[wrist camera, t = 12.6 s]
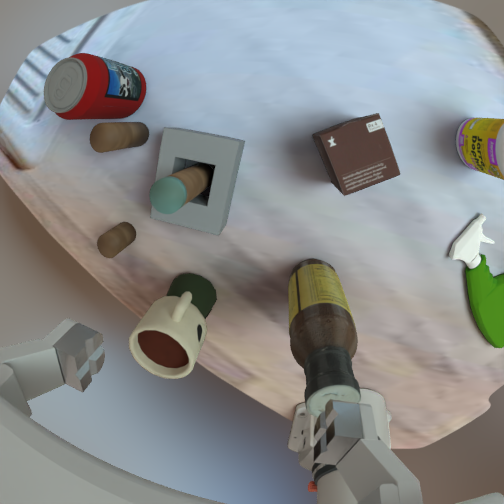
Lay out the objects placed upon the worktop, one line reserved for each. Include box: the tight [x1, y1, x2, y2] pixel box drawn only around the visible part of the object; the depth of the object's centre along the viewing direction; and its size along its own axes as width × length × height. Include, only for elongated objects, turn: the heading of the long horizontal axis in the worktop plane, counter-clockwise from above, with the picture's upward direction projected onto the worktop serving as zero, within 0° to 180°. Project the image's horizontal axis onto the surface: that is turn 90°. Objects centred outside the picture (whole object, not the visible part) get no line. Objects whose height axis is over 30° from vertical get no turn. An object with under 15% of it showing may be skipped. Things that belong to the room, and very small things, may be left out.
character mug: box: [129, 273, 217, 379], centre depth 34 cm, size 11×7×13 cm, turn 155°
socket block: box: [150, 128, 245, 235], centre depth 32 cm, size 10×8×4 cm
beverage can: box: [44, 53, 146, 120], centre depth 25 cm, size 7×7×12 cm
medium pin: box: [90, 122, 149, 153], centre depth 29 cm, size 3×3×8 cm
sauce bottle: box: [288, 259, 361, 418], centre depth 28 cm, size 6×6×20 cm
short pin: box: [97, 222, 136, 258], centre depth 35 cm, size 3×3×5 cm
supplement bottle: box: [456, 118, 504, 180], centre depth 22 cm, size 7×7×13 cm
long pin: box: [150, 163, 214, 214], centre depth 29 cm, size 3×3×11 cm
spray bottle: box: [449, 214, 504, 348], centre depth 33 cm, size 3×11×24 cm
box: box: [313, 113, 400, 196], centre depth 27 cm, size 6×6×7 cm
